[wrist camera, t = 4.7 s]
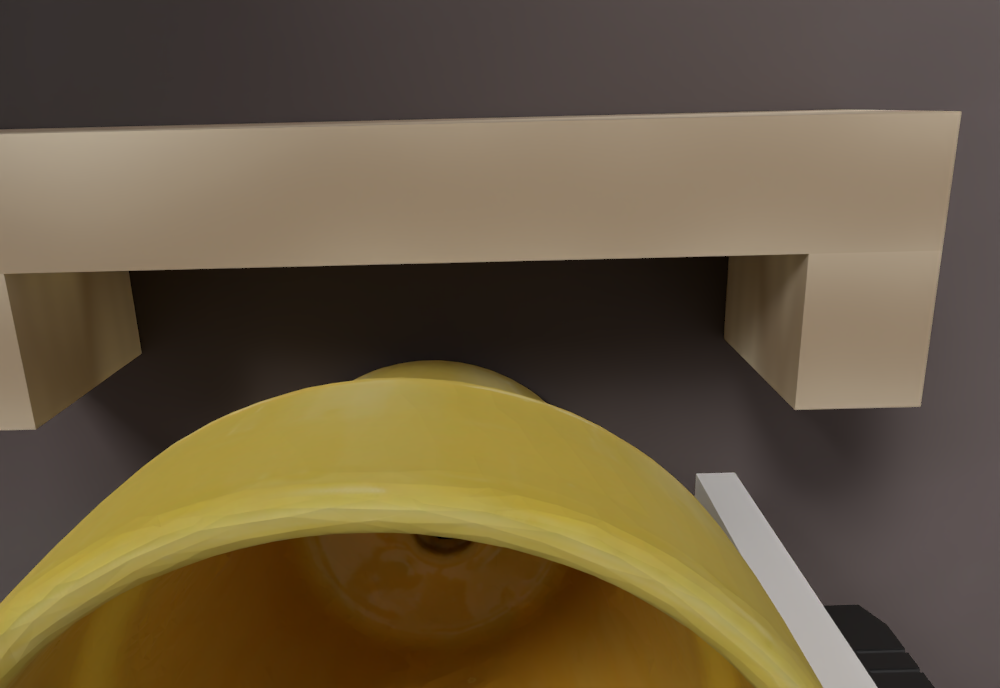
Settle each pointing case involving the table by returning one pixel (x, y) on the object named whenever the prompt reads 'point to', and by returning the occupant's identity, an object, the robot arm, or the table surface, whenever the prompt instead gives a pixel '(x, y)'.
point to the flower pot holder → (492, 226)
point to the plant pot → (398, 556)
